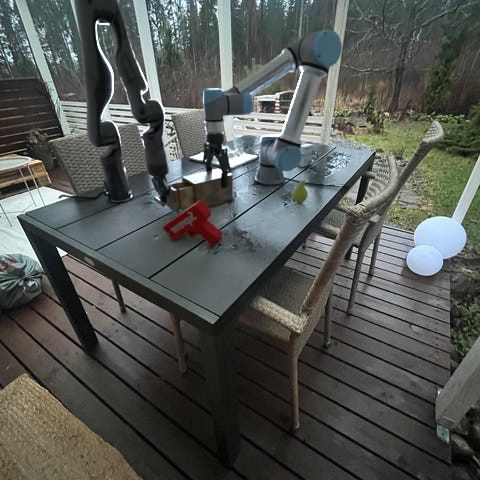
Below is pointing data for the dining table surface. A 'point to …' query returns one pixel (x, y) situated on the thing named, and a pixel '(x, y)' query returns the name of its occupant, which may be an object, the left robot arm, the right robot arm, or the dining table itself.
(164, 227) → the toy gun
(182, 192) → the drawer
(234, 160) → the relief map
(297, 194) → the fruit
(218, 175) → the wooden drawer box
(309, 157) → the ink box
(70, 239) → the dining table surface
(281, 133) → the right robot arm
